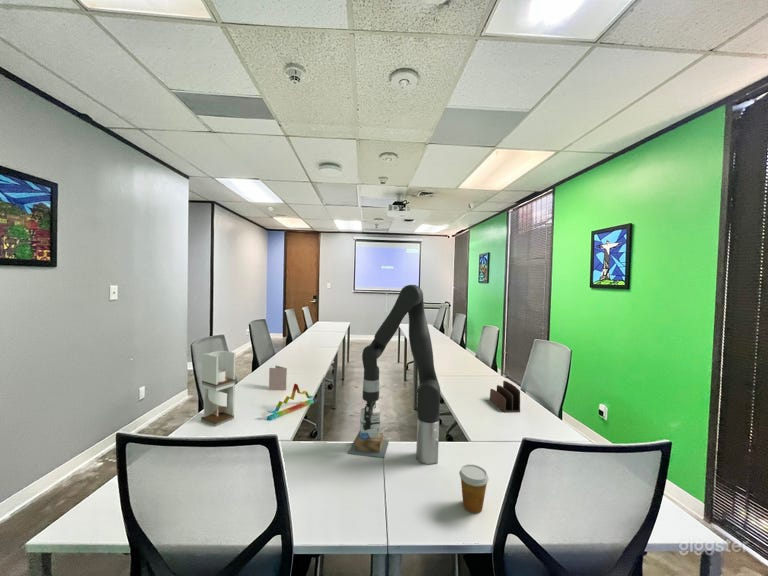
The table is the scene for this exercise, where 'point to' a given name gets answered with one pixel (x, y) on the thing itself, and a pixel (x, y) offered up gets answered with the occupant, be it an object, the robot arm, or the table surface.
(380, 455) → the pad
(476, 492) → the disposable coffee cup
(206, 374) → the tiered shelf stand
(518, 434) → the table surface
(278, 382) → the greeting card
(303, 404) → the chart
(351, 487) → the table surface
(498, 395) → the letter holder
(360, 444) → the open cardboard box
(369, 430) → the ink box
